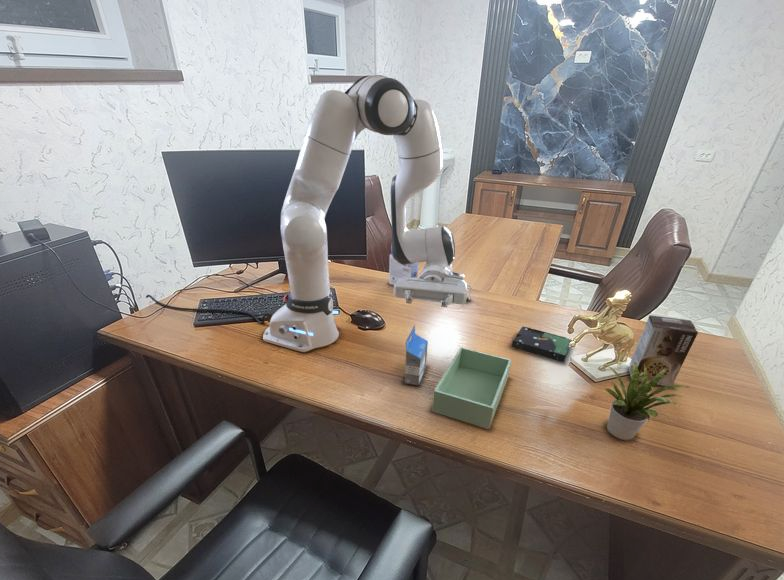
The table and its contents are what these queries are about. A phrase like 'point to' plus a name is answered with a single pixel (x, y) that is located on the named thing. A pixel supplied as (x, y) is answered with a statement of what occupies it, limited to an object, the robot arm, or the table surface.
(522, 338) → the disk drive
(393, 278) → the ink cartridge box
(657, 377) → the house plant
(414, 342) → the tape cartridge
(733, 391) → the table surface
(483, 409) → the bin
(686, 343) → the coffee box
